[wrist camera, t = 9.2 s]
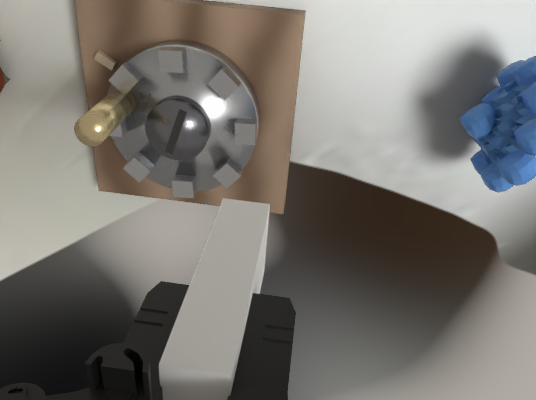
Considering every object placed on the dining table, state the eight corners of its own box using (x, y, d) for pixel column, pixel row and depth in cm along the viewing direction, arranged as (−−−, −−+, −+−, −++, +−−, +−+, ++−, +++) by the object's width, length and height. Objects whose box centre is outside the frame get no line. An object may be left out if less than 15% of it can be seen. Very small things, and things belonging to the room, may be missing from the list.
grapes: (466, 27, 42) (506, 69, 32) (546, 38, 42) (613, 83, 32) (429, 150, 48) (452, 217, 38) (499, 160, 48) (541, 230, 38)
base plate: (305, 10, 43) (303, 16, 41) (284, 204, 54) (282, 216, 51) (83, -12, 44) (70, -7, 42) (106, 181, 55) (96, 192, 53)
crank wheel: (136, 12, 43) (88, 40, 34) (284, 80, 44) (272, 122, 36) (102, 145, 50) (55, 193, 42) (229, 200, 51) (209, 256, 43)
